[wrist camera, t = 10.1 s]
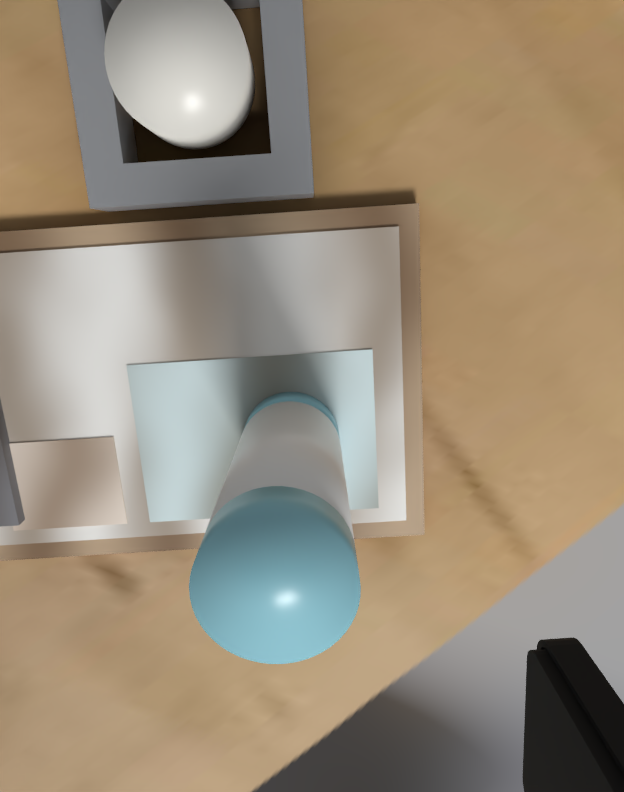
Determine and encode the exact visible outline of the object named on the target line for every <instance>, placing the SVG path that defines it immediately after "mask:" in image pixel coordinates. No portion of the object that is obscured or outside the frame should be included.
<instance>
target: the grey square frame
mask: <svg viewBox="0 0 624 792" xmlns="http://www.w3.org/2000/svg"><path fill="white" fill-rule="evenodd" d="M121 1H122V0H58V7H59V13H60V20H61V26H62V32H63V39H64V45H65V52H66V58H67V65H68V71H69V77H70V84H71V90H72V97H73V103H74V109H75V116H76V122H77V129H78V135H79V141H80V148H81V154H82V161H83V167H84V173H85V180H86V186H87V193H88V199H89V205H90V208H91V209H97V210H102V211H108V212H111V211H126V210H140V209H155V208H170V207H184V206H199V205H214V204H228V203H243V202H258V201H272V200H287V199H302V198H313V197H314V186H313V170H312V153H311V137H310V120H309V104H308V87H307V71H306V54H305V38H304V21H303V5H302V0H224V1H225V2H226V3H227V5H228V6H229V7H230V9H243V8H257V7H260V14H261V26H262V39H263V52H264V65H265V78H266V91H267V104H268V117H269V130H270V143H271V153H270V154H255V155H241V156H227V157H212V158H198V159H183V160H169V161H154V162H140V163H138V156H137V148H136V141H135V133H134V126H133V118H132V116H131V115H130V114H129V113H128V112H127V111H126V110H125V109H124V107H123V106H122V105H121V103H120V102H119V100H118V99H117V97H116V95H115V94H114V91H113V89H112V87H111V85H110V82H109V79H108V76H107V71H106V66H105V57H104V46H105V38H106V32H107V29H108V25H109V22H110V20H111V17H112V15H113V13H114V11H115V10H116V8H117V6H118V5H119V4H120V2H121Z"/></svg>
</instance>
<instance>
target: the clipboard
mask: <svg viewBox="0 0 624 792" xmlns="http://www.w3.org/2000/svg"><path fill="white" fill-rule="evenodd" d="M283 392H300V393H304V394H307V395H310V396H312V397H314V398H316V399H318V400H319V401H321V402H322V403H323V404H324V405H325V406H326V407H327V408H328V409H329V410H330V411H331V413H332V414H333V416H334V418H335V420H336V422H337V426H338V430H339V437H340V444H341V451H342V458H343V465H344V472H345V479H346V486H347V493H348V500H349V508H350V515H351V522H352V529H353V536H354V539H361V538H377V537H394V536H410V535H424V478H423V418H422V357H421V297H420V236H419V203H416V204H401V205H386V206H371V207H357V208H342V209H327V210H313V211H298V212H283V213H268V214H254V215H239V216H224V217H210V218H195V219H180V220H165V221H151V222H136V223H121V224H107V225H92V226H77V227H62V228H48V229H33V230H18V231H3V232H0V561H4V560H20V559H36V558H53V557H69V556H85V555H101V554H118V553H134V552H150V551H166V550H183V549H199V548H200V545H201V543H202V540H203V537H204V534H205V532H206V529H207V526H208V524H209V521H210V518H211V516H212V513H213V510H214V508H215V505H216V502H217V500H218V497H219V494H220V492H221V489H222V486H223V484H224V481H225V478H226V476H227V473H228V470H229V468H230V465H231V462H232V459H233V457H234V454H235V451H236V449H237V446H238V443H239V441H240V438H241V435H242V433H243V430H244V427H245V425H246V422H247V420H248V417H249V416H250V414H251V412H252V411H253V410H254V408H255V407H256V406H257V405H258V404H259V403H260V402H262V401H263V400H264V399H266V398H268V397H270V396H272V395H275V394H278V393H283Z"/></svg>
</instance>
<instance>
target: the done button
mask: <svg viewBox="0 0 624 792" xmlns="http://www.w3.org/2000/svg"><path fill="white" fill-rule="evenodd" d="M104 57H105V66H106V71H107V76H108V79H109V82H110V85H111V87H112V89H113V91H114V94H115V95H116V97H117V99H118V100H119V102H120V103H121V105H122V106H123V107H124V109H125V110H126V111H127V112H128V113H129V114H130V115H131V116H132V117H133V118H134V119H135V120H137V121H138V122H139V123H140V124H142V125H143V126H144V127H146V128H147V129H149V130H150V131H151V132H153V133H154V134H155V135H157V136H158V137H159V138H161V139H163V140H164V141H166V142H168V143H170V144H172V145H174V146H177V147H180V148H184V149H191V150H200V149H207V148H211V147H214V146H217V145H219V144H221V143H223V142H225V141H226V140H228V139H229V138H230V137H232V136H233V135H234V134H235V133H236V132H237V131H238V130H239V129H240V128H241V126H242V125H243V123H244V122H245V120H246V118H247V116H248V114H249V112H250V110H251V107H252V104H253V99H254V94H255V74H254V68H253V64H252V60H251V57H250V53H249V50H248V47H247V44H246V40H245V37H244V34H243V31H242V29H241V26H240V24H239V22H238V20H237V18H236V16H235V14H234V13H233V11H232V10H231V9H230V7H229V6H228V5H227V3H226V2H225V1H224V0H122V1H121V2H120V4H119V5H118V6H117V8H116V10H115V11H114V13H113V15H112V17H111V20H110V22H109V25H108V29H107V32H106V38H105V46H104Z"/></svg>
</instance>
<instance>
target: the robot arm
mask: <svg viewBox="0 0 624 792" xmlns="http://www.w3.org/2000/svg"><path fill="white" fill-rule="evenodd" d="M524 731H525V732H524V759H523V786H524V791H525V792H624V704H623V702H622V701H621V700H620V698H619V697H618V695H617V694H616V693H615V691H614V690H613V688H612V687H611V685H610V684H609V683H608V681H607V680H606V678H605V677H604V675H603V674H602V673H601V671H600V670H599V668H598V667H597V665H596V664H595V663H594V661H593V660H592V659H591V657H590V656H589V654H588V653H587V651H586V650H585V648H584V647H583V646H582V644H581V643H580V642H579V641H578V640H577V639H575V638H560V639H547V640H540V641H539V642H538V645H537V650H530V651H529V652H528V655H527V675H526V703H525V730H524Z"/></svg>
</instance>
